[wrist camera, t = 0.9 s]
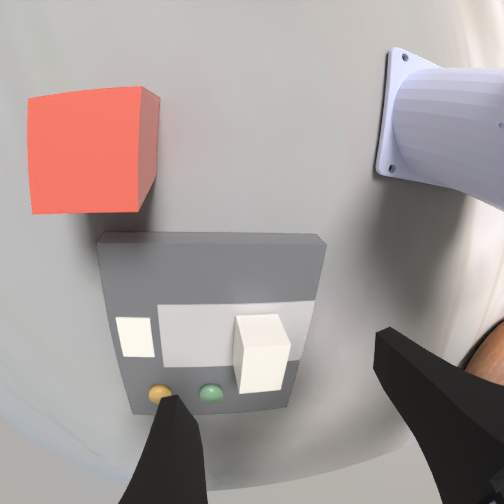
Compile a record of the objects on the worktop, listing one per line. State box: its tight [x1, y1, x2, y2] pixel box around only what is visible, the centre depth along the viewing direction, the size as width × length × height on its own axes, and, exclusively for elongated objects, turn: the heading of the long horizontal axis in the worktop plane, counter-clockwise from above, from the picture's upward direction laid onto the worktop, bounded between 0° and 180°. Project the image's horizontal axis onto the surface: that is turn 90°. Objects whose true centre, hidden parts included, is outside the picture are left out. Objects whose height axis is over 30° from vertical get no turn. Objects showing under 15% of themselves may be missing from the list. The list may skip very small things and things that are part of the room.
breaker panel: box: [96, 232, 326, 415], centre depth 18 cm, size 12×14×2 cm
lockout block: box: [27, 86, 160, 214], centre depth 11 cm, size 4×4×6 cm
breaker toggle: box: [232, 314, 291, 394], centre depth 17 cm, size 2×4×3 cm, turn 174°
